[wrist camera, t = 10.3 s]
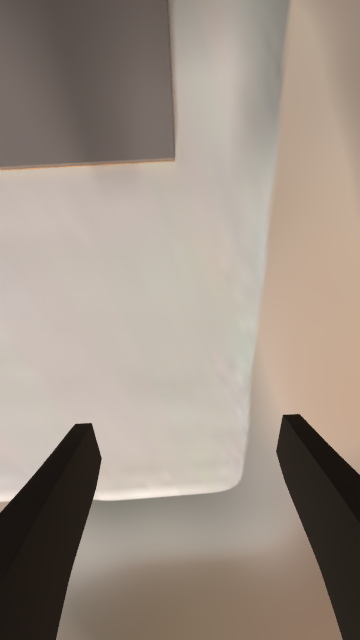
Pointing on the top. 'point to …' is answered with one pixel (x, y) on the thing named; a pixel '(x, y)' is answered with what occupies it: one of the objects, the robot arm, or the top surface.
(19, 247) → the top surface
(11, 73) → the plate
